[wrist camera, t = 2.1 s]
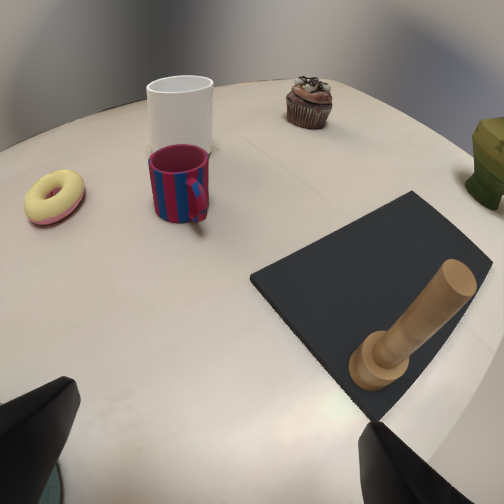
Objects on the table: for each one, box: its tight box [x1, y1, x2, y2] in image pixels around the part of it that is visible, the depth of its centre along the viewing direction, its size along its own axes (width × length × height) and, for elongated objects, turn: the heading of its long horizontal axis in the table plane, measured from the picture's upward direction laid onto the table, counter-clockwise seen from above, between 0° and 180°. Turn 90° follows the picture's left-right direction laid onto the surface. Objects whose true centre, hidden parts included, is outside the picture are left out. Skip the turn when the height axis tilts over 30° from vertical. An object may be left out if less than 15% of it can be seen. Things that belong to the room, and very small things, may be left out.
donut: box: [24, 170, 84, 225], centre depth 33 cm, size 10×5×9 cm
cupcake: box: [286, 76, 332, 129], centre depth 54 cm, size 10×10×10 cm
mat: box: [250, 191, 493, 422], centre depth 32 cm, size 18×32×1 cm, turn 125°
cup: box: [148, 144, 209, 223], centre depth 33 cm, size 7×10×7 cm
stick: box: [349, 259, 477, 391], centre depth 18 cm, size 4×4×13 cm
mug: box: [147, 76, 213, 155], centre depth 41 cm, size 10×12×12 cm
